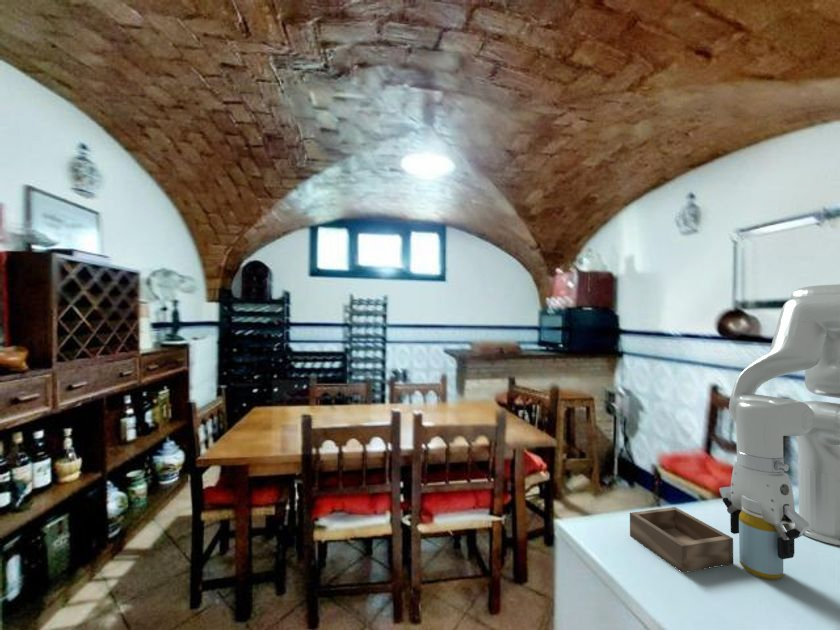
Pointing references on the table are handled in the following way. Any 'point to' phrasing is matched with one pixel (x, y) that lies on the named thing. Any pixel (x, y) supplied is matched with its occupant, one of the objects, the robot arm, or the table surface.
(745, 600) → the table surface
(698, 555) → the brown box
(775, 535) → the bottle
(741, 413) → the robot arm
